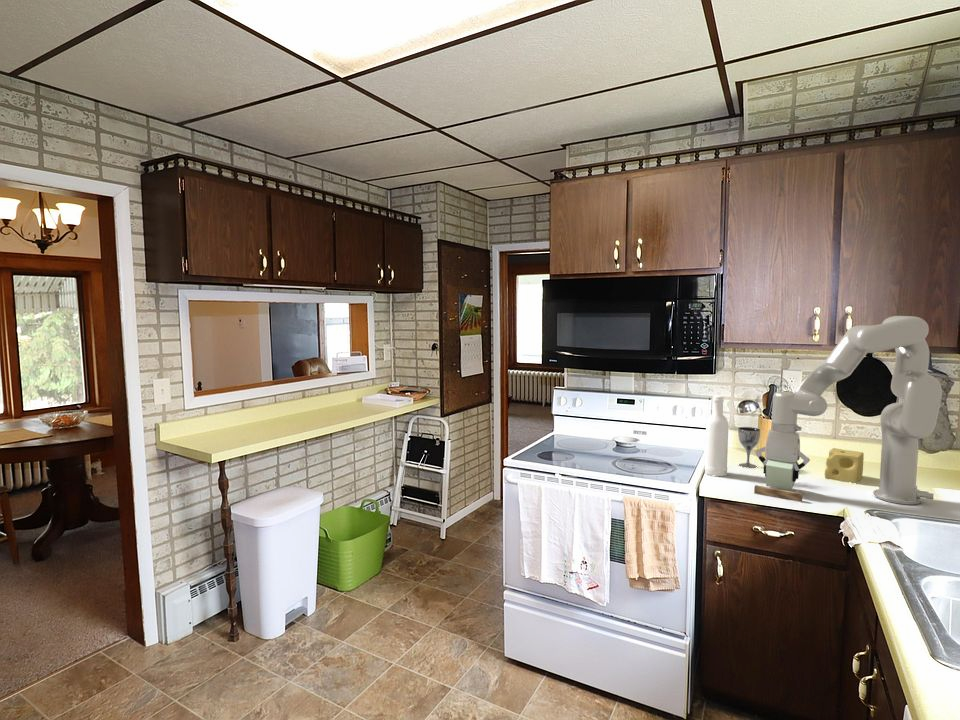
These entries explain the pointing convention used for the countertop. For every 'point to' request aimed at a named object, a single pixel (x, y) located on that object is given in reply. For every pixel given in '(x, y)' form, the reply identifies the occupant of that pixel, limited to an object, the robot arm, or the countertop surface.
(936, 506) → the countertop surface
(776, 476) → the pale green cube
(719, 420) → the bottle
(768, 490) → the brown wooden bar
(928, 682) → the countertop surface
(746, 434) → the wine glass
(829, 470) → the cheese
